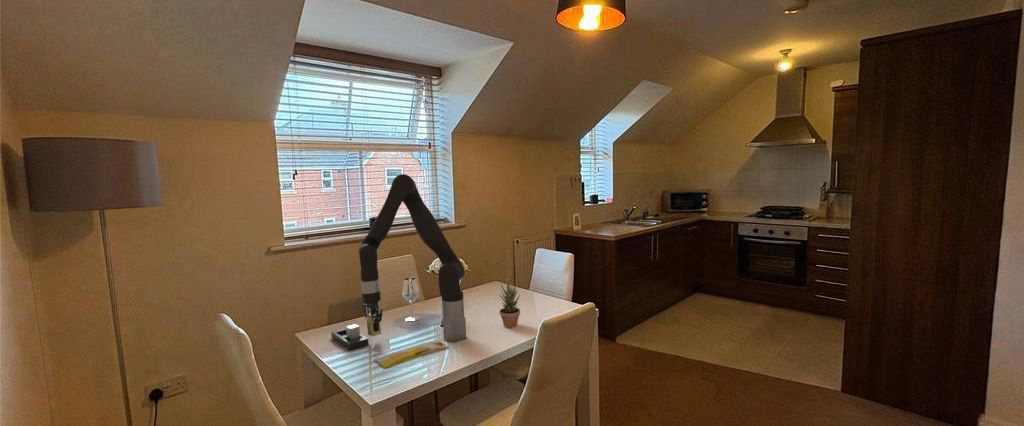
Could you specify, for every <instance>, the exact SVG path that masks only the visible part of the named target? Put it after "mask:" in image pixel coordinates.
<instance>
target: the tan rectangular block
mask: <svg viewBox="0 0 1024 426" xmlns="http://www.w3.org/2000/svg"><path fill="white" fill-rule="evenodd" d="M374 315H375V314H374ZM374 315H373V316H374ZM366 317H367V318H366V328H367V335H369V336H371V337H375V336H378V335H381V334H382V329H381V321H380V322H379V331H377V332H375V331H374V327H373V318H371V315H369V316H366Z"/></svg>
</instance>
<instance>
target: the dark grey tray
mask: <svg viewBox="0 0 1024 426" xmlns="http://www.w3.org/2000/svg"><path fill="white" fill-rule="evenodd" d="M330 335H331V339H332V338H333V339H334V340H333V339H332V340H333V341H335V342H336V341H337V342H336V343H338V344H339V345H341V346H342V347H343V348H344V349H346V350H347V351H349V352H351V351H355V350H358V349H362V348H366V347H367V346H369V342H370V341H369V338H368V337H366V336H365V335H363V334H362V333H360V339H357V340H354V341H350V342H349V341H347V332H346V327H344V328H340V329H337V330H336V329H335V330H333V331H331V332H330Z"/></svg>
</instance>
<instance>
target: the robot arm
mask: <svg viewBox="0 0 1024 426" xmlns="http://www.w3.org/2000/svg"><path fill="white" fill-rule="evenodd" d="M402 204H404V205H405V207H406V208H407V211H408V212H409V215H410V218H411V221H412V224H413V226H414V228H415V230H416V233H417V234H418V236H419V237H420V239H421V241H422V242H423V243H424V245H426V246H427V247H428V248H429V249H430V250H431V251H432V252H433V253H434V254H435V255H436V256H437V258H438V259H439V262H440V263H441V266H440V267H439V269H438V273H437V275H438V277H437V278H438V290H439V295H440V297H441V313H442V314H441V315H442V330H443V331H442V335H443V340H444V341H446V342H450V343H451V342H452V343H457V342H460V341H463V340H465V339H467V321H466V317H465V305H464V304H465V303H464V302H465V301H464V300H465V299H464V292H463V291H462V290H461V285H460V281H461V280H462V279H463V277H464V275H465V267H464V265H463V263H462V261H461V260H460V258H458V256H457V255H456V253H455V252H454V250H453V248H452V247H451V246H450V244H449V242H448V240H447V237H445V234H444V233H443V231H442V229H441V227H440V225H439V223H438V222H437V220H436V218H435V217H434V215H433V213H432V212H431V211H430V209H429V208H428V207H427V205H426V204H425V203H424V201H423V198H422V197H421V195H420V192H419V190H418V188H417V184H416V182H415V181H414V179H413V178H412V177H411V176H410V175H408V174H405V173H401V174H398V175H396V176H395V177H394V179H393V180H392V184H391V186H390V189H389V191H388V194H387V197H386V199H385V202H384V203H383V205H382V207H381V209H380V210H379V212H378V215H377V217H376V218H375V220H374V221H373V223H372V225H371V227H370V229H369V231H368V234H366V236H365V238H364V239H363V241H362V242H361V244H360V246H359V248H358V256H359V261H360V262H359V263H360V290H361V292H360V293H361V300H362V303H363V304H362V308H363V313H364V317H365V319H367V317H366V316H369V315H371V318H373V327H374V331H375V332H377V331H379V322H380V323H381V322H382V319H383V309H382V308H379V306H380V305H379V302H380V301H382V300H381V299H382V297H381V284H380V283H381V282H380V281H379V280H380V279H379V277H380V276H379V269H378V249H379V248H380V245H381V244H382V242H383V241H384V240H385V239H386V237H387V235H388V234H389V231H390V230H391V228H392V226H393V224H394V221H395V218H396V215H397V213H398V210H399V208H400V207H401V205H402ZM374 314H375V315H374ZM373 315H374V316H373Z"/></svg>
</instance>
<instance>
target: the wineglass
mask: <svg viewBox="0 0 1024 426" xmlns="http://www.w3.org/2000/svg"><path fill="white" fill-rule="evenodd" d="M419 295H420V291H419V285H418V281H417V278H416V277H406V278H404V279H403V285H402V297H403V298H404V300H405V301H406V302H408V303H409V304H410V316H406V317H405V318H404V321H405V322H414V321H418V320H420V318H421V316H420V315H414V313H413V302H415V301H416V300H417V299H418V298H419Z"/></svg>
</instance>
